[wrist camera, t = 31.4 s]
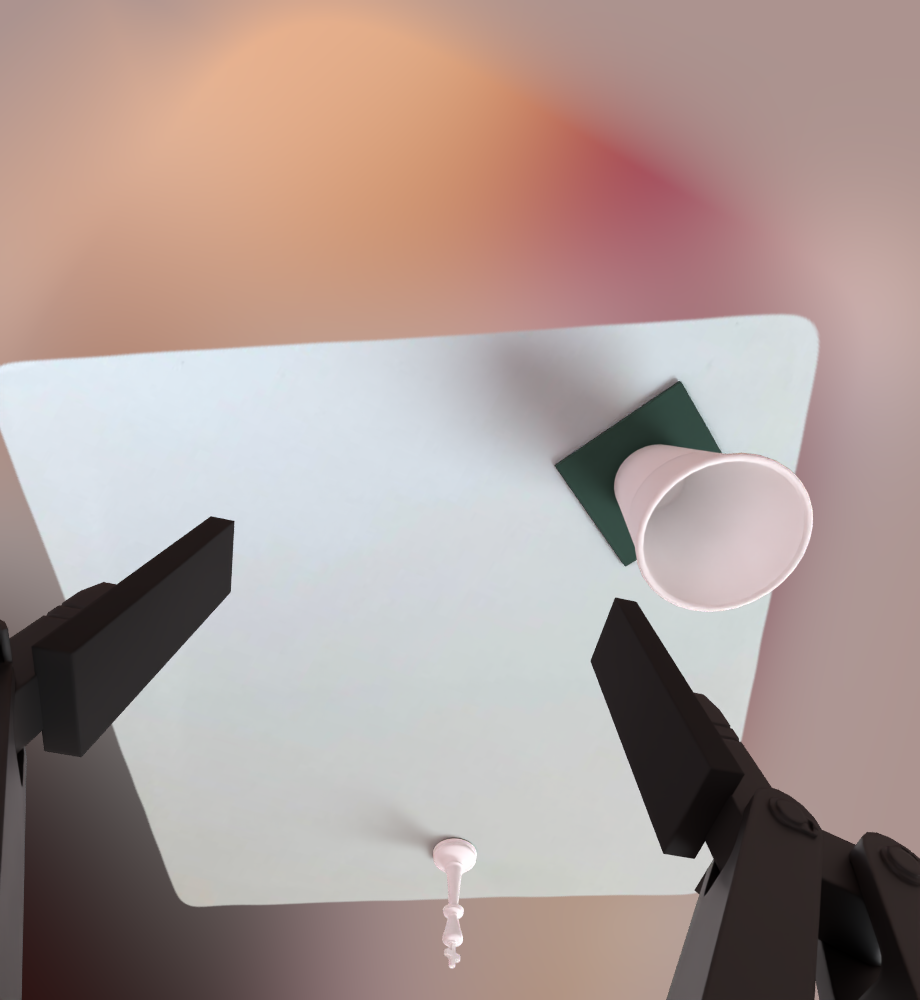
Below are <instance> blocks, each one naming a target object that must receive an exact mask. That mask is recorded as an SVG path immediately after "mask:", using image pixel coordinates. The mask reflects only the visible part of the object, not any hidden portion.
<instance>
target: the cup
mask: <svg viewBox="0 0 920 1000" xmlns="http://www.w3.org/2000/svg"><path fill="white" fill-rule="evenodd" d="M614 491H615V497H616V499H617V502H618V504H619V507H620V509H621V512H622V514H623V517H624V520H625V522H626V525H627V527H628V530H629V533H630V535H631V538H632V541H633V543H634V546H635V552H636V558H637V564H638V566H639V569H640V571H641V574H642V576H643V578H644V579H645V581H646V582H647V583H648V585H649V586H650V588H651V589H652V590H653V591H655V592H656V593H657V594H658V595H659V596H660V597H662V598H663V599H665V600H666V601H668V602H670V603H672V604H674V605H676V606H679V607H682V608H686V609H689V610H695V611H704V612H710V611H724V610H728V609H733V608H738V607H741V606H743V605H746V604H748V603H751V602H754V601H756V600H757V599H759V598H761V597H763V596H764V595H766V594H768V593H770V592H771V591H772V590H773V589H774V588H776V587H777V586H778V585H780V584H781V583H782V582H783V581H784V580H785V579H786V578H787V577H788V576H789V575H790V574H791V573H792V571H793V570H794V569H795V568H796V566H797V565H798V563H799V562H800V560H801V558H802V557H803V555H804V553H805V551H806V548H807V545H808V543H809V541H810V537H811V532H812V526H813V511H812V510H813V509H812V506H811V502H810V498H809V495H808V493H807V491H806V489H805V487H804V486H803V484H802V482H801V481H800V479H798V477H797V476H796V475H795V474H794V473H793V472H792V471H791V470H790V469H788V468H787V467H785V466H783V465H782V464H780V463H779V462H777V461H775V460H772V459H770V458H767V457H764V456H761V455H755V454H747V453H733V454H722V453H715V452H708V451H702V450H695V449H689V448H682V447H676V446H670V445H662V444H658V445H650V446H646V447H643V448H641V449H639V450H637V451H635V452H634V453H632V454H631V455H630V456H629V457H627V458H626V459H625V460H624V462H623V463H622V464H621V466H620V467H619V469H618V472H617V474H616V477H615V481H614Z"/></svg>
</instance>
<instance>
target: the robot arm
mask: <svg viewBox="0 0 920 1000" xmlns="http://www.w3.org/2000/svg"><path fill="white" fill-rule="evenodd" d="M233 538H234V521H231V520H226V519H221V518H216V517H212V516H211V517H209V518H208V519H207V520H205V521H204V522H202V523H201V524H200V525H198V526H197V527H196V528H194V529H193V530H191V531H190V532H189V533H187V534H186V535H184V536H183V537H182V538H180V539H179V540H178V541H176V542H175V543H173V544H172V545H171V546H169V547H168V548H167V549H165V550H164V551H162V552H161V553H160V554H158V555H157V556H155V557H154V558H153V559H151V560H150V561H149V562H147V563H146V564H144V565H143V566H142V567H140V568H139V569H138V570H136V571H135V572H133V573H132V574H131V575H129V576H128V577H126V578H125V579H124V580H122V581H121V582H120V583H118V584H117V585H116V584H111V583H106V582H103V583H100V584H97V585H95V586H92V587H90V588H87V589H84V590H82V591H80V592H78V593H77V594H75V595H74V596H72V597H71V598H69V599H68V600H66V601H65V602H63V603H62V605H61V606H57V607H56V608H54V609H53V610H51V611H50V612H48V614H47V616H42V617H41V618H39V619H38V620H36V621H35V622H33V623H32V624H31V625H29V626H27V627H26V628H25V629H23V630H22V631H20V632H19V633H17V634H16V635H14V636H13V637H11V638H10V639H9V633H8V628H7V626H6V623H5V622H3V621H2V620H0V1000H21V993H22V945H23V943H22V942H23V897H24V850H25V803H26V750H25V746H26V745H27V744H28V743H29V742H30V741H31V740H32V739H33V738H35V737H36V736H37V735H38V734H39V733H40V732H41V731H42V735H43V743H44V750H45V751H47V752H53V753H60V754H65V755H72V756H78V757H82V756H83V755H84V754H85V753H86V751H87V750H88V749H89V748H90V747H91V746H92V745H93V744H94V743H95V742H96V740H97V739H98V738H99V737H100V736H101V735H102V734H103V733H104V732H105V731H106V729H107V728H108V727H109V726H110V725H111V724H112V723H113V722H114V721H115V719H116V718H117V717H118V716H119V715H120V714H121V713H122V712H123V711H124V710H125V708H126V707H127V706H128V705H129V704H130V703H131V702H132V701H133V700H134V698H135V697H136V696H137V695H138V694H139V693H140V692H141V691H142V690H143V688H144V687H145V686H146V685H147V684H148V683H149V682H150V681H151V680H152V679H153V677H154V676H155V675H156V674H157V673H158V672H159V671H160V670H161V669H162V667H163V666H164V665H165V664H166V663H167V662H168V661H169V660H170V659H171V658H172V656H173V655H174V654H175V653H176V652H177V651H178V650H179V649H180V648H181V646H182V645H183V644H184V643H185V642H186V641H187V640H188V639H189V638H190V637H191V635H192V634H193V633H194V632H195V631H196V630H197V629H198V628H199V627H200V625H201V624H202V623H203V622H204V621H205V620H206V619H207V618H208V617H209V615H210V614H211V613H212V612H213V611H214V610H215V609H216V608H217V607H218V606H219V604H220V603H221V602H222V601H223V600H224V599H225V598H226V597H227V596H228V594H229V593H230V592H231V576H232V557H233ZM591 663H592V666H593V669H594V671H595V674H596V677H597V679H598V682H599V685H600V687H601V690H602V692H603V695H604V698H605V700H606V703H607V706H608V708H609V711H610V714H611V716H612V719H613V722H614V724H615V727H616V730H617V732H618V735H619V737H620V740H621V743H622V745H623V748H624V751H625V753H626V756H627V759H628V761H629V764H630V767H631V769H632V772H633V775H634V777H635V780H636V782H637V785H638V788H639V790H640V793H641V796H642V798H643V801H644V804H645V806H646V809H647V812H648V814H649V817H650V820H651V822H652V825H653V827H654V830H655V833H656V835H657V838H658V841H659V843H660V846H661V849H662V851H663V854H669V855H675V856H681V857H687V858H693V859H695V857H696V856H697V854H698V852H699V851H700V849H701V847H702V846H703V844H704V842H705V841H706V843H707V845H708V848H709V850H710V852H711V854H712V856H713V858H714V859H713V861H712V863H711V864H710V866H709V867H708V869H707V871H706V872H705V874H704V876H703V877H702V879H701V880H700V882H699V884H698V885H697V887H696V889H695V891H696V892H697V893H698V894H700V895H699V898H698V901H697V904H696V907H695V910H694V913H693V917H692V920H691V923H690V926H689V929H688V933H687V936H686V939H685V942H684V945H683V949H682V952H681V955H680V958H679V961H678V964H677V967H676V970H675V974H674V977H673V980H672V983H671V986H670V989H669V993H668V996H667V999H666V1000H814V997H815V981H816V985H817V989H818V995H819V1000H920V858H918V857H917V856H916V855H915V854H914V853H912V852H911V851H910V850H909V849H907V848H906V847H904V846H903V845H901V844H899V843H898V842H896V841H894V840H893V839H891V838H889V837H886V836H884V835H881V834H879V833H873V832H867V833H866V834H865V835H863V836H862V837H861V839H860V840H859V842H858V843H857V844H856V845H855V844H852V843H850V842H848V841H845V840H843V839H841V838H839V837H837V836H834V835H832V834H830V833H828V832H826V831H823V830H822V829H821V828H820V826H819V824H818V823H817V821H816V820H815V818H814V817H813V816H812V815H811V814H810V813H809V812H808V811H807V809H805V807H804V806H803V805H801V804H800V803H799V802H797V801H796V800H795V799H793V798H792V797H790V796H789V795H787V794H785V793H783V792H781V791H779V790H777V789H774V788H772V787H771V786H770V784H769V783H768V781H767V780H766V778H765V777H764V775H763V774H762V772H761V771H760V769H759V768H758V766H757V765H756V763H755V762H754V760H753V759H752V757H751V756H750V754H749V753H748V751H747V750H746V749H745V747H744V745H743V744H742V742H739V738H738V736H737V735H736V733H735V732H734V730H733V729H731V728H730V725H729V723H728V722H727V720H726V719H725V717H724V716H723V714H722V713H721V711H720V710H719V709H718V708H717V707H716V706H715V705H714V704H713V703H712V702H711V701H710V700H709V699H708V698H707V697H706V696H705V695H703V694H698V693H693V691H692V690H691V688H690V686H689V685H688V683H687V682H686V680H685V678H684V677H683V675H682V674H681V672H680V671H679V669H678V667H677V666H676V664H675V663H674V661H673V659H672V658H671V656H670V655H669V653H668V651H667V650H666V648H665V647H664V645H663V644H662V642H661V640H660V639H659V637H658V636H657V634H656V632H655V631H654V629H653V628H652V626H651V624H650V623H649V621H648V620H647V618H646V617H645V615H644V613H643V612H642V610H641V609H640V607H639V605H638V604H637V602H635V601H630V600H625V599H620V598H615V599H614V602H613V605H612V607H611V610H610V612H609V615H608V617H607V620H606V623H605V625H604V628H603V630H602V633H601V635H600V638H599V641H598V643H597V646H596V648H595V651H594V653H593V656H592V659H591Z"/></svg>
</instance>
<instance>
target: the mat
mask: <svg viewBox="0 0 920 1000" xmlns="http://www.w3.org/2000/svg"><path fill="white" fill-rule="evenodd" d="M658 444H662V445H670V446H676V447H682V448H689V449H695V450H702V451H708V452H715V453H721V451H720V449H719V447H718V446H717V444H716V442H715V440H714V439H713V437H712V435H711V433H710V432H709V430H708V428H707V426H706V425H705V423H704V421H703V419H702V417H701V416H700V414H699V412H698V410H697V409H696V407H695V405H694V403H693V402H692V400H691V398H690V396H689V395H688V393H687V391H686V389H685V388H684V386H683V384H682V382H680V381H678V382H677V383H676V384H674V385H673V386H671V387H670V388H668V389H667V390H665V391H664V392H662V393H661V394H659V395H658V396H656V397H655V398H653V399H652V400H650V401H649V402H648V403H646V404H645V405H643V406H642V407H640V408H639V409H637V410H636V411H634V412H633V413H631V414H630V415H628V416H627V417H625V418H624V419H622V420H621V421H619V422H618V423H617V424H615V425H614V426H612V427H611V428H609V429H608V430H606V431H605V432H603V433H602V434H600V435H599V436H597V437H596V438H594V439H593V440H591V441H590V442H588V443H587V444H586V445H584V446H583V447H581V448H580V449H578V450H577V451H575V452H574V453H572V454H571V455H569V456H568V457H566V458H565V459H563V460H562V461H560V462H559V463H557V464H556V465H555V467H556V468H557V469H558V471H559V472H560V474H561V475H562V477H563V478H564V480H565V481H566V482H567V484H568V485H569V487H570V488H571V490H572V491H573V492H574V494H575V495H576V497H577V498H578V500H579V501H580V503H581V504H582V505H583V507H584V508H585V510H586V511H587V513H588V514H589V515H590V517H591V518H592V520H593V521H594V523H595V524H596V525H597V527H598V528H599V530H600V531H601V533H602V534H603V536H604V537H605V538H606V540H607V541H608V543H609V544H610V546H611V547H612V548H613V550H614V551H615V553H616V554H617V556H618V557H619V559H620V560H621V561H622V563H623V564H624V566H627V565H629V564H630V563H632V562H634V561H635V560H637V558H636V552H635V546H634V543H633V541H632V538H631V535H630V533H629V530H628V527H627V525H626V522H625V520H624V517H623V514H622V512H621V509H620V507H619V504H618V502H617V499H616V497H615V491H614V481H615V477H616V474H617V472H618V469H619V467H620V466H621V464H622V463H623V462H624V460H625V459H626V458H627V457H629V456H630V455H631V454H632V453H634V452H635V451H637V450H639V449H641V448H643V447H646V446H650V445H658Z"/></svg>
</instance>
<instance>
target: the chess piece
mask: <svg viewBox="0 0 920 1000" xmlns="http://www.w3.org/2000/svg"><path fill="white" fill-rule="evenodd" d="M476 855H477V853H476V849H475V847H474V846H473V845H472V844H471V843H469V842H468V841H465V840H462V839H457V838H451V839H446V840H443V841H441V842H439V843H438V844H437V845H436V846H435V848H434V850H433V856H434V857H433V859H434V863H435V865H436V866H437V867H438V868H439V869H440V870H442V871H443V872H446V873H447V881H448V895H449V904H448V905H446V906H445V907H444V908H443V913H444V916H445V917H446V918H448V920H447V924H446V928H445V931H444V933H443V938H442V941H443V943H444V944H445V945H446V946H448V947H449V948H447V949H445V950H444V956H446V957H447V958H449V967H450V968H451V969H453V968H454V967H455V962H456V963H458V962H460V955H459V954H457V953H456V947H457V946H459V945H460V944H462V942H463V936H462V932H461V929H460V924H459V920H458V919H459V918H461V917H462V916H463V913H464V909H463V907H462V906H460V905H458V901H459V891H460V883H461V876H462V874H463V873H465V872H467V871H469V870H470V869H471V868H472V867H473V866H474V865H475V862H476Z"/></svg>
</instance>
